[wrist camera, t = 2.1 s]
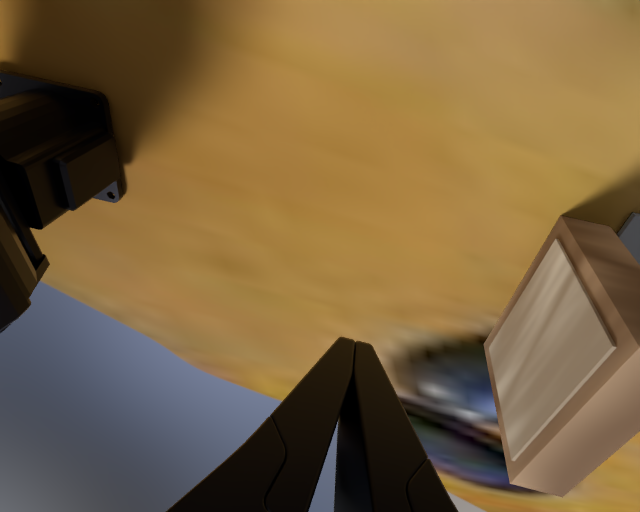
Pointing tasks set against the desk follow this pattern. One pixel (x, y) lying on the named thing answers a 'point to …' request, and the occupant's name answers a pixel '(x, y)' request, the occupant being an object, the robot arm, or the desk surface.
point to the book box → (568, 358)
